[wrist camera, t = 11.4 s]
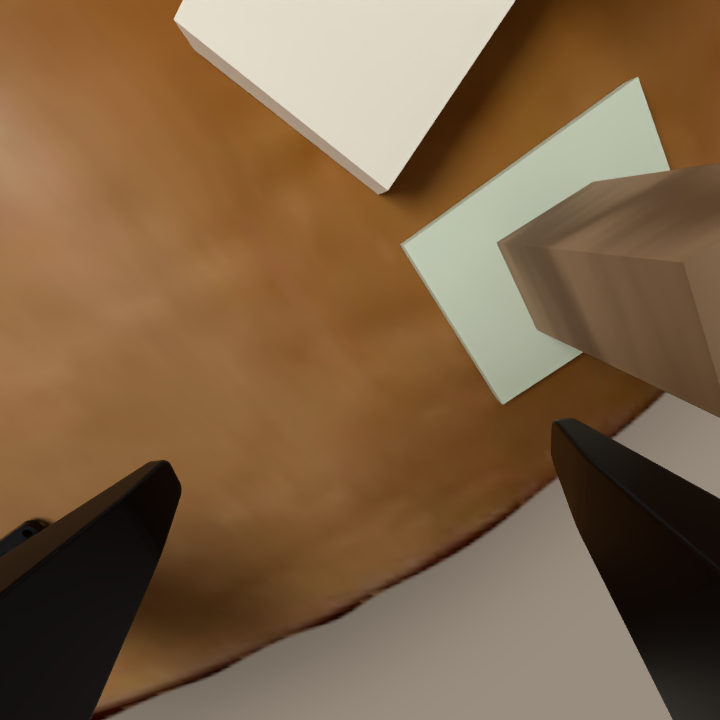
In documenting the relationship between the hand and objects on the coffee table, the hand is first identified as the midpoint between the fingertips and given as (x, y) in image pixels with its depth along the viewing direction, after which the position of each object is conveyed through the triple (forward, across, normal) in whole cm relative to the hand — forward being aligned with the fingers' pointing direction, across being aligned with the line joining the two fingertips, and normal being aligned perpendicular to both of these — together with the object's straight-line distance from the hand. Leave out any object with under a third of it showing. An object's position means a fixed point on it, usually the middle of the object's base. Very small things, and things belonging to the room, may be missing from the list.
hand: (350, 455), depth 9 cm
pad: (+14, -9, 0) cm, 16 cm away
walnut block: (+13, -9, 0) cm, 16 cm away
